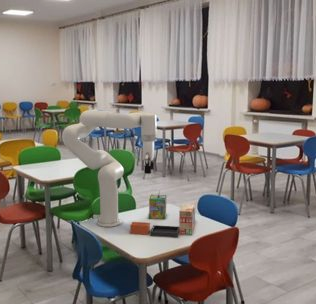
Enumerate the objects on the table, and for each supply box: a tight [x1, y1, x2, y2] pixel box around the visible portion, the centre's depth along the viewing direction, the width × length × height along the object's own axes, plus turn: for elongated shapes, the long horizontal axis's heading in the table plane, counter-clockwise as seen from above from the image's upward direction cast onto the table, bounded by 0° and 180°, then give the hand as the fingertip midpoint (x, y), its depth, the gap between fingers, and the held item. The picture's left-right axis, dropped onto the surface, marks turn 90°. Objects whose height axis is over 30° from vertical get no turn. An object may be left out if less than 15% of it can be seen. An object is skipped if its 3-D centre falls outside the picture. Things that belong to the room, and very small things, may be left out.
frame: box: [149, 224, 180, 238], centre depth 211 cm, size 14×10×2 cm
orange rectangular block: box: [130, 221, 151, 236], centre depth 212 cm, size 9×5×4 cm, turn 79°
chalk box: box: [148, 190, 168, 220], centre depth 235 cm, size 9×9×15 cm
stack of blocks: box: [178, 203, 196, 236], centre depth 218 cm, size 21×6×12 cm, turn 168°
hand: (149, 171), depth 213 cm, fingers open, 9 cm apart
